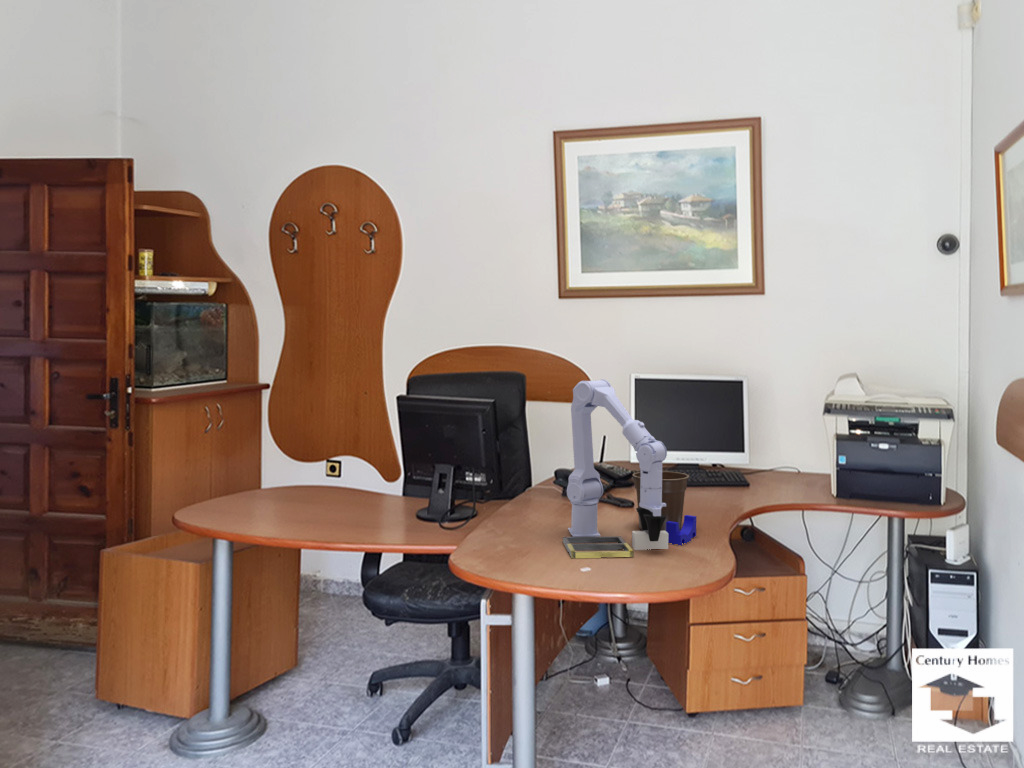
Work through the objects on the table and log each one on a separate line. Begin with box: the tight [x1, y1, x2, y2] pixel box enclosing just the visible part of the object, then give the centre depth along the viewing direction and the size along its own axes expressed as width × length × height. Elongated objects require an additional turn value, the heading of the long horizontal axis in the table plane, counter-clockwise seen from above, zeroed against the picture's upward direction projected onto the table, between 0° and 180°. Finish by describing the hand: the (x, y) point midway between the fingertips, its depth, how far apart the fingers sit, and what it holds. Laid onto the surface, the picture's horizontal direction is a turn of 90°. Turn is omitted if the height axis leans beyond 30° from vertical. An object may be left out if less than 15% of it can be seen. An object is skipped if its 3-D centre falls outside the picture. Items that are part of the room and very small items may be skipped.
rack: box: [562, 535, 635, 559], centre depth 234 cm, size 17×16×2 cm
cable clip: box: [666, 514, 697, 546], centre depth 245 cm, size 12×4×6 cm, turn 141°
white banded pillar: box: [631, 530, 669, 551], centre depth 236 cm, size 4×9×5 cm, turn 94°
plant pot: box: [632, 470, 690, 531], centre depth 258 cm, size 16×16×16 cm
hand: (650, 537), depth 236 cm, fingers open, 7 cm apart
